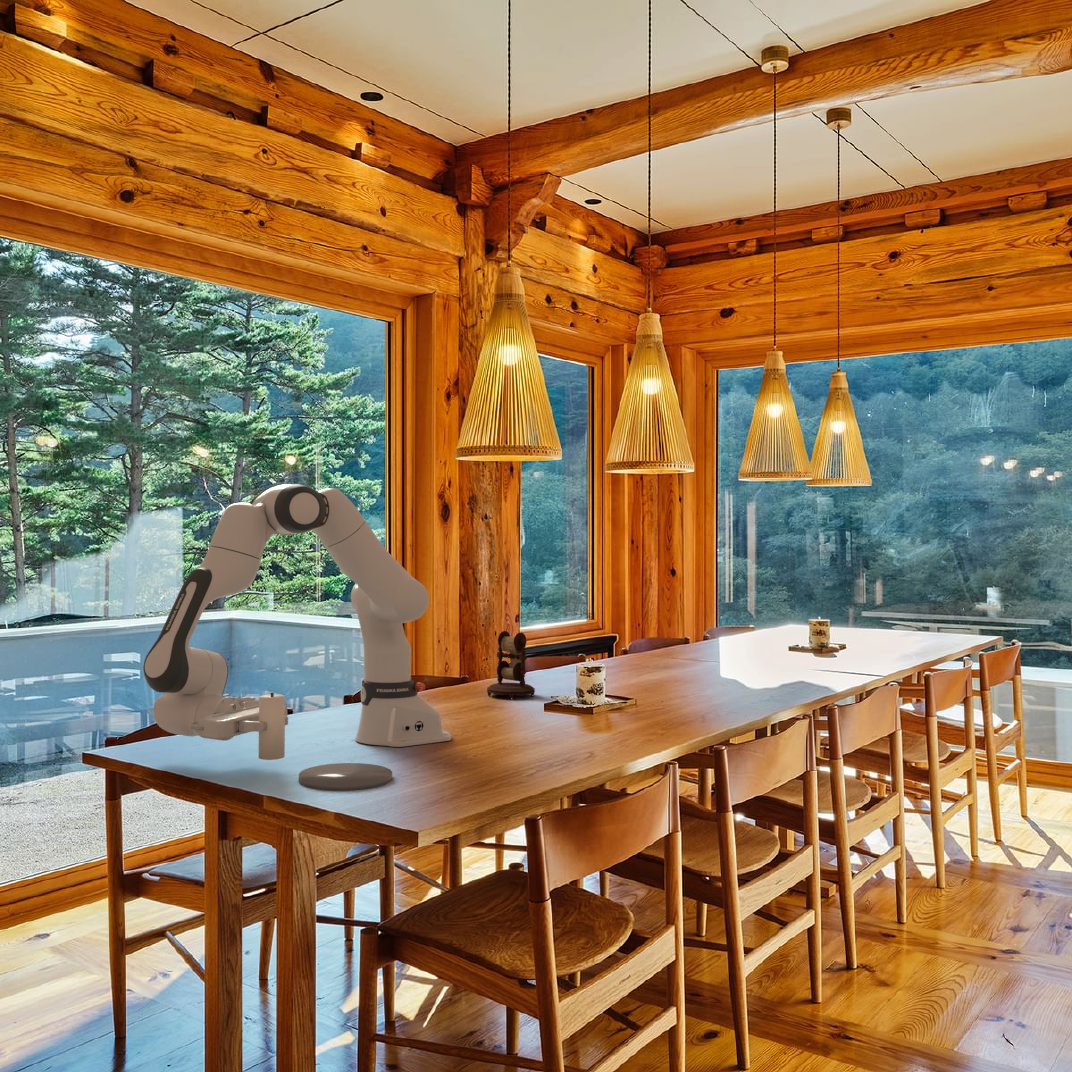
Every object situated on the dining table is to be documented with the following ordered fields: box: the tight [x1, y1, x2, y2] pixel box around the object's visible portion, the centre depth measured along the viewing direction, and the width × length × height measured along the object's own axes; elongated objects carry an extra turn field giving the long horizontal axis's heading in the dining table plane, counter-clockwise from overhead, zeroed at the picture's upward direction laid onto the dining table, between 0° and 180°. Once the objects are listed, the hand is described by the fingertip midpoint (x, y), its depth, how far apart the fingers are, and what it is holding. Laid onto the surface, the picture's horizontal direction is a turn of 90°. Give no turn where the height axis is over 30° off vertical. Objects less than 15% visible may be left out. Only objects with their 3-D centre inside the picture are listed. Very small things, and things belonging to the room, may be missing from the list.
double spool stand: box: [486, 630, 536, 699], centre depth 306 cm, size 15×15×20 cm
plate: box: [298, 762, 393, 792], centre depth 194 cm, size 18×18×1 cm
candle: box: [258, 692, 286, 761], centre depth 197 cm, size 5×5×13 cm
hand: (275, 724), depth 196 cm, fingers closed on candle, 5 cm apart
